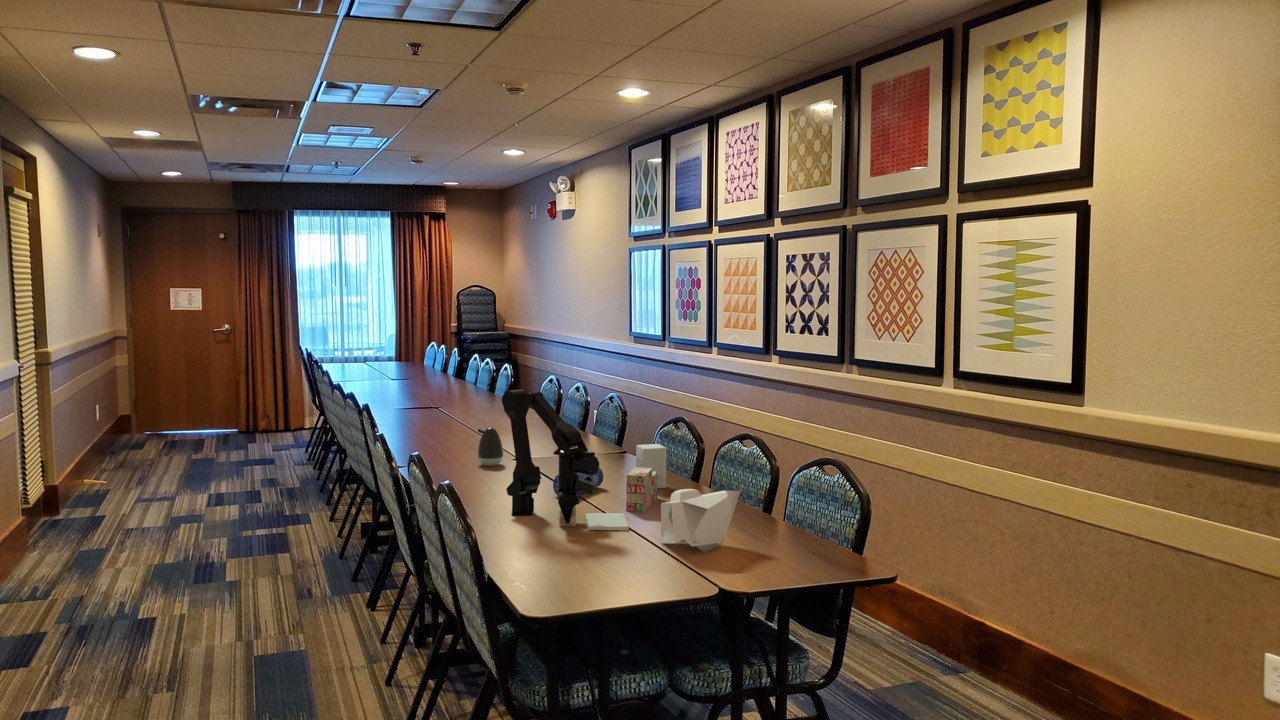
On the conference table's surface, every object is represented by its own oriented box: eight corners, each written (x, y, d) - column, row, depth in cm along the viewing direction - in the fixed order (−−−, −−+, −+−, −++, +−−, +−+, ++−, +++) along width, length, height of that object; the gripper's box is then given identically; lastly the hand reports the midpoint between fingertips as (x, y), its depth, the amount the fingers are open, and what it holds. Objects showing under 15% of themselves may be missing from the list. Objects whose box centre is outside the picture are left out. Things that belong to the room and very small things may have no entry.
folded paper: (655, 485, 260) (687, 503, 245) (725, 478, 272) (760, 494, 257) (651, 542, 263) (682, 564, 248) (721, 533, 274) (755, 553, 260)
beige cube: (559, 526, 279) (559, 510, 278) (559, 522, 284) (559, 506, 283) (576, 526, 279) (576, 510, 279) (575, 521, 284) (575, 506, 284)
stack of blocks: (639, 496, 320) (640, 461, 319) (657, 497, 319) (658, 462, 318) (625, 511, 299) (626, 474, 298) (644, 512, 298) (645, 475, 297)
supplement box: (658, 483, 341) (659, 443, 340) (666, 488, 333) (667, 447, 332) (635, 484, 339) (635, 444, 337) (642, 489, 330) (643, 448, 329)
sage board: (588, 530, 274) (588, 526, 274) (585, 517, 290) (585, 513, 290) (628, 530, 276) (628, 526, 276) (623, 516, 292) (623, 513, 291)
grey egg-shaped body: (481, 462, 375) (481, 425, 374) (506, 463, 374) (506, 426, 373) (473, 466, 365) (473, 429, 364) (498, 468, 364) (499, 430, 363)
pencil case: (570, 500, 313) (571, 472, 312) (550, 497, 317) (550, 469, 317) (605, 488, 332) (605, 462, 331) (585, 485, 336) (585, 459, 336)
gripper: (596, 476, 272) (595, 528, 273) (592, 464, 290) (592, 512, 292) (558, 477, 271) (558, 529, 272) (557, 464, 289) (556, 513, 290)
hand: (567, 520), depth 282 cm, fingers closed on beige cube, 5 cm apart
